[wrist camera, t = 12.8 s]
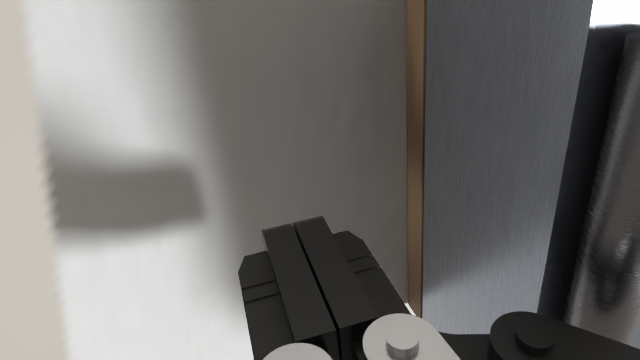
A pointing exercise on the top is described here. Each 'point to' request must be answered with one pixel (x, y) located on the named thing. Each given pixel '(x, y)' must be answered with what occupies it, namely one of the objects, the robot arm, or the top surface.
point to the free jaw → (532, 164)
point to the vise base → (416, 147)
